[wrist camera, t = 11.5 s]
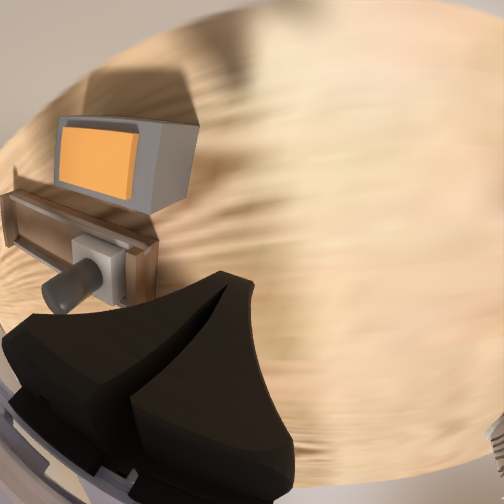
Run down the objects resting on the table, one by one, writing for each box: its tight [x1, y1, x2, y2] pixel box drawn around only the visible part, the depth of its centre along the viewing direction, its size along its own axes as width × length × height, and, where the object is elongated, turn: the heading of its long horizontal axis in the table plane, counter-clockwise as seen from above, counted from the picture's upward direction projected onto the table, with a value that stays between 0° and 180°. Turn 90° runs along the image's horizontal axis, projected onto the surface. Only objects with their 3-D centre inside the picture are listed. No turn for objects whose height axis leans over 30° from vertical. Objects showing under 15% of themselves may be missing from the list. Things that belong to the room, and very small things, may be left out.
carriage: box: [42, 233, 125, 315], centre depth 20 cm, size 5×5×7 cm
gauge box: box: [54, 115, 200, 215], centre depth 18 cm, size 6×10×5 cm, turn 76°
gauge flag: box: [59, 127, 139, 200], centre depth 15 cm, size 4×7×1 cm, turn 76°
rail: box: [0, 189, 159, 308], centre depth 24 cm, size 7×24×3 cm, turn 76°
